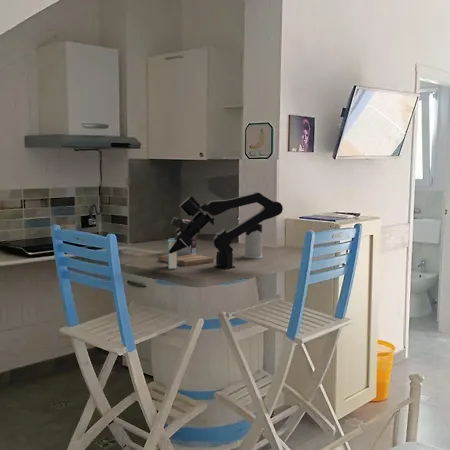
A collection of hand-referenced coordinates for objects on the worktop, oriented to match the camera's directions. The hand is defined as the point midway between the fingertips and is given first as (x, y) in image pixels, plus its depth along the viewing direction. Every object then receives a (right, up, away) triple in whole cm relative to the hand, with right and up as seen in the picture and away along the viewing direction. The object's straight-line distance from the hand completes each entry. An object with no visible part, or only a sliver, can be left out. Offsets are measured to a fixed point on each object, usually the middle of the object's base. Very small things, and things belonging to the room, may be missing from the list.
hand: (169, 251), depth 243 cm
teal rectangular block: (+1, -7, +1) cm, 7 cm away
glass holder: (+35, -4, +35) cm, 50 cm away
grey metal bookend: (+2, -3, +20) cm, 20 cm away
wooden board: (+6, -5, +16) cm, 18 cm away
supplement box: (+5, -3, +39) cm, 39 cm away
